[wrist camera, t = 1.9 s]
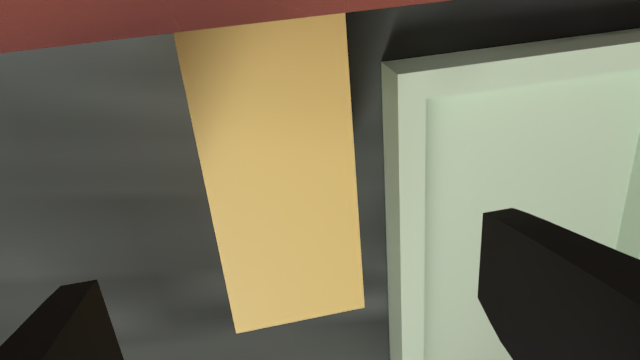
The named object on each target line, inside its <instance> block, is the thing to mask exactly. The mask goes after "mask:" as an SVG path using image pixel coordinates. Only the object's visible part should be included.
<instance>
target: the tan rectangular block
mask: <svg viewBox="0 0 640 360" xmlns="http://www.w3.org/2000/svg"><path fill="white" fill-rule="evenodd" d="M173 34H174V39H175V44H176V49H177V53H178V58H179V63H180V68H181V73H182V77H183V82H184V87H185V92H186V96H187V101H188V106H189V111H190V115H191V120H192V125H193V130H194V134H195V139H196V144H197V149H198V153H199V158H200V163H201V168H202V172H203V177H204V182H205V187H206V192H207V196H208V201H209V206H210V211H211V215H212V220H213V225H214V230H215V234H216V239H217V244H218V249H219V253H220V258H221V263H222V268H223V272H224V277H225V282H226V287H227V291H228V296H229V301H230V306H231V311H232V315H233V320H234V325H235V330H236V333H241V332H246V331H251V330H256V329H261V328H266V327H271V326H276V325H281V324H286V323H291V322H295V321H300V320H305V319H310V318H315V317H320V316H325V315H330V314H335V313H340V312H345V311H350V310H355V309H360V308H364V291H363V276H362V261H361V246H360V231H359V215H358V200H357V185H356V170H355V154H354V139H353V124H352V109H351V94H350V78H349V63H348V48H347V33H346V17H345V13H339V14H330V15H322V16H313V17H305V18H296V19H288V20H279V21H270V22H262V23H253V24H245V25H236V26H228V27H219V28H211V29H202V30H193V31H185V32H176V33H173Z"/></svg>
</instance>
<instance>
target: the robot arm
mask: <svg viewBox="0 0 640 360" xmlns="http://www.w3.org/2000/svg"><path fill="white" fill-rule="evenodd" d="M477 298H478V300H479V302H480V304H481V305H482V307H483V309H484V311H485V313H486V315H487V317H488V319H489V321H490V323H491V325H492V327H493V329H494V331H495V332H496V334H497V336H498V338H499V340H500V342H501V343H502V345H503V346H504V348H505V349H506V350H507V352H508V353H509V355H510V356H511V358H512V359H513V360H640V259H637V258H635V257H632V256H630V255H627V254H625V253H622V252H620V251H617V250H615V249H613V248H610V247H608V246H605V245H603V244H601V243H598V242H596V241H594V240H591V239H589V238H587V237H584V236H582V235H579V234H577V233H575V232H572V231H570V230H568V229H565V228H563V227H561V226H558V225H556V224H554V223H551V222H549V221H547V220H544V219H542V218H539V217H537V216H534V215H532V214H529V213H526V212H524V211H521V210H518V209H515V208H509V209H503V210H497V211H491V212H485V213H483V220H482V235H481V251H480V266H479V282H478V297H477ZM0 360H124V359H123V356H122V353H121V350H120V347H119V344H118V341H117V338H116V335H115V332H114V329H113V326H112V323H111V320H110V317H109V314H108V311H107V308H106V305H105V302H104V299H103V296H102V293H101V290H100V287H99V284H98V281H97V280H93V281H87V282H81V283H75V284H70V285H64V286H60V287H59V288H58V289H57V290H56V291H55V292H54V293H53V294H52V295H51V296H50V297H49V298H47V299H46V300H45V301H44V302H43V303H42V304H41V306H40V307H39V308H38V309H37V310H36V311H35V312H34V313H33V314H32V315H31V316H30V317H29V318H28V319H27V320H26V321H25V322H24V323H23V324H22V325H21V326H20V327H19V328H18V329H17V330H16V331H15V332H14V333H13V334H12V335H11V336H10V337H9V338H8V339H7V340H6V341H5V342H4V343H3V344H2V345H1V346H0Z"/></svg>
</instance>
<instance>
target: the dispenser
mask: <svg viewBox="0 0 640 360" xmlns="http://www.w3.org/2000/svg"><path fill="white" fill-rule="evenodd" d="M442 1H450V0H0V53H5V52H14V51H22V50H31V49H39V48H48V47H56V46H65V45H74V44H82V43H91V42H99V41H108V40H116V39H125V38H133V37H142V36H151V35H159V34H168V33H176V32H185V31H193V30H202V29H211V28H219V27H228V26H236V25H245V24H253V23H262V22H270V21H279V20H288V19H296V18H305V17H313V16H322V15H330V14H339V13H347V12H356V11H365V10H373V9H382V8H390V7H399V6H407V5H416V4H425V3H433V2H442Z"/></svg>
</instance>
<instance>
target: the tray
mask: <svg viewBox="0 0 640 360" xmlns="http://www.w3.org/2000/svg"><path fill="white" fill-rule="evenodd" d="M381 75H382V108H383V141H384V174H385V207H386V241H387V274H388V307H389V340H390V360H513V359H512V358H511V356H510V355H509V353H508V352H507V350H506V349H505V348H504V346H503V345H502V343H501V342H500V340H499V338H498V336H497V334H496V332H495V331H494V329H493V327H492V325H491V323H490V321H489V319H488V317H487V315H486V313H485V311H484V309H483V307H482V305H481V304H480V302H479V300H478V298H477V297H478V282H479V266H480V251H481V235H482V220H483V213H485V212H491V211H497V210H503V209H509V208H515V209H518V210H521V211H524V212H526V213H529V214H532V215H534V216H537V217H539V218H542V219H544V220H547V221H549V222H551V223H554V224H556V225H558V226H561V227H563V228H565V229H568V230H570V231H572V232H575V233H577V234H579V235H582V236H584V237H587V238H589V239H591V240H594V241H596V242H598V243H601V244H603V245H605V246H608V247H610V248H613V249H615V250H617V251H620V252H622V253H625V254H627V255H630V256H632V257H635V258H637V259H640V28H636V29H629V30H621V31H613V32H606V33H598V34H590V35H583V36H575V37H568V38H560V39H552V40H545V41H537V42H529V43H522V44H514V45H507V46H499V47H491V48H484V49H476V50H468V51H461V52H453V53H445V54H438V55H430V56H423V57H415V58H407V59H400V60H392V61H384V62H381Z"/></svg>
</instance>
